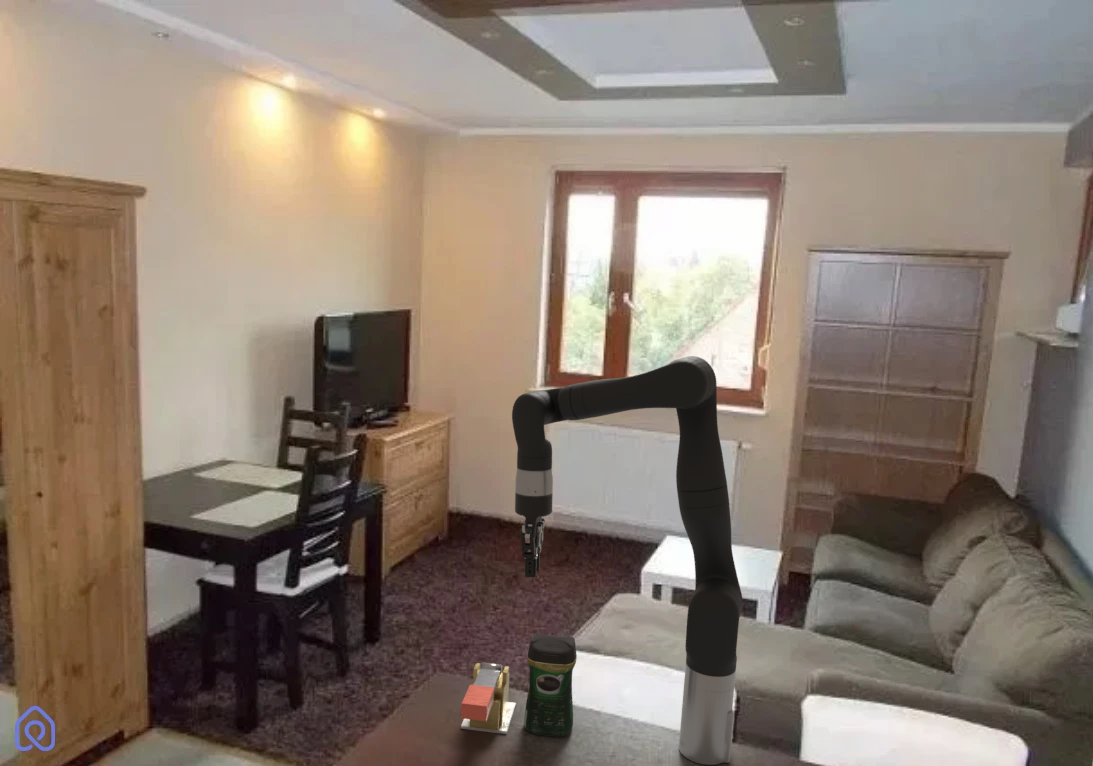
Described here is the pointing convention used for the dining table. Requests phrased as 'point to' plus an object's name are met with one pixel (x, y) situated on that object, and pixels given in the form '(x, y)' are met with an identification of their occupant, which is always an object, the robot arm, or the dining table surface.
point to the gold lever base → (494, 708)
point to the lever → (481, 693)
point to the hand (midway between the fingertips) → (532, 573)
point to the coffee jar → (550, 685)
